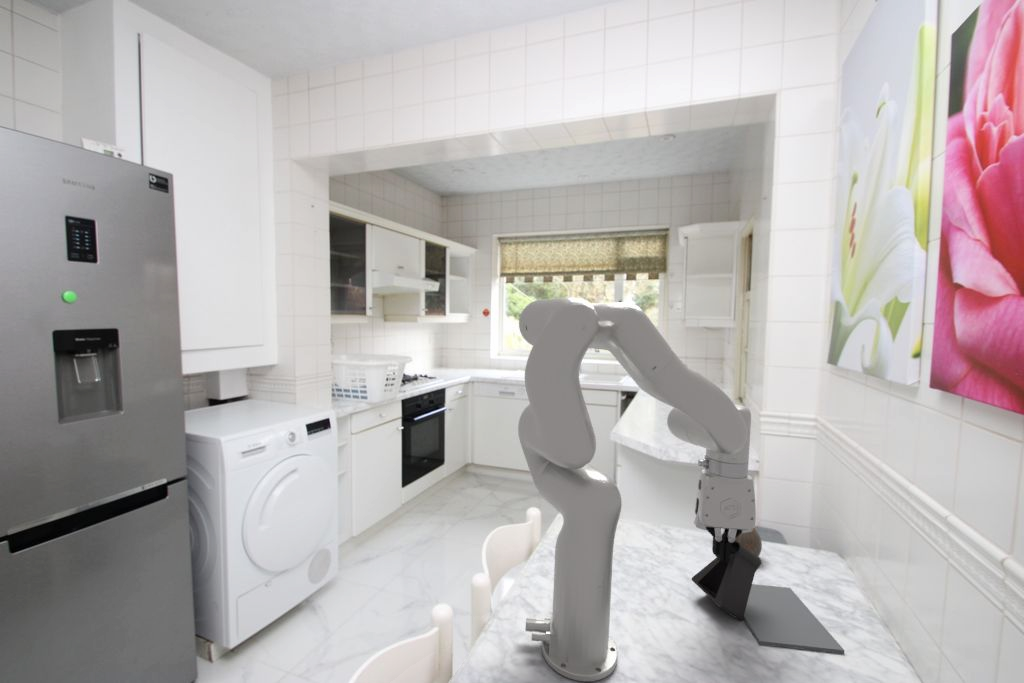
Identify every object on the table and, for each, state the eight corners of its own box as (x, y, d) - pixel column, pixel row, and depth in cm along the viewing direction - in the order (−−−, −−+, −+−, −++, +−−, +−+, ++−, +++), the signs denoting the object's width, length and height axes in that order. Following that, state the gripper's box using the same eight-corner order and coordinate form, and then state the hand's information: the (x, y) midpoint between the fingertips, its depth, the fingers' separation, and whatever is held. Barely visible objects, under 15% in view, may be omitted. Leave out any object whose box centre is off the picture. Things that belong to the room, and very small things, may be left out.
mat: (759, 644, 77) (759, 641, 77) (721, 583, 95) (721, 581, 95) (844, 653, 76) (844, 650, 76) (789, 590, 93) (789, 587, 93)
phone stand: (741, 622, 83) (775, 568, 84) (719, 607, 82) (754, 553, 83) (710, 593, 92) (741, 545, 93) (690, 579, 90) (722, 530, 91)
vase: (765, 566, 103) (767, 530, 102) (733, 562, 104) (735, 526, 104) (755, 551, 110) (757, 517, 109) (725, 547, 111) (727, 514, 110)
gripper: (692, 471, 82) (687, 565, 83) (776, 476, 81) (770, 572, 82) (681, 458, 90) (677, 545, 91) (757, 463, 88) (752, 551, 89)
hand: (721, 558), depth 86 cm, fingers closed
